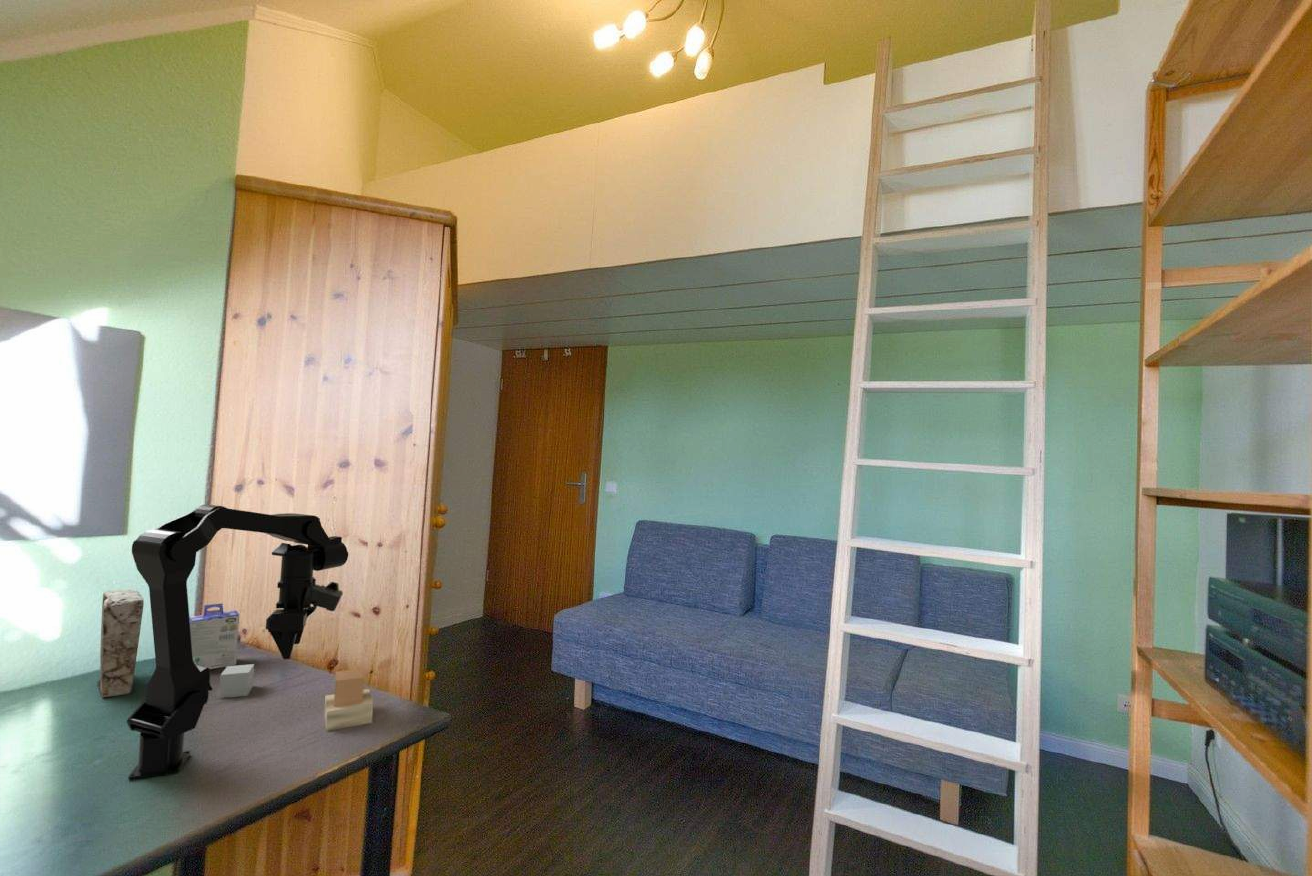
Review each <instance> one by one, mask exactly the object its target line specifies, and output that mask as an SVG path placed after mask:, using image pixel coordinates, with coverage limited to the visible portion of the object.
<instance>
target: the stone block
mask: <svg viewBox="0 0 1312 876" xmlns="http://www.w3.org/2000/svg"><path fill="white" fill-rule="evenodd" d="M101 603H102V604H101V605H102V607H101V621H100V622H101V625H100V626H101V627H100V630H101V631H100V653H99V657H100V660H99V662H100V663H99V667H100V669H99V671H100V672H99V673H100V675H99V676H100V677H99V680H98V681H97V683H96V684H97V686H98V689H99V693H100V694H101V697H102V698H108V697H114V696H115V697H116V696H121V695H123V696H124V695H129V694H131V693H133V689H132V688H133V683H134V677H135V676H134V675H135V671H136V669H135V668H136V664H137V657H138V651H139V649H138V648H139V641H140V634H141V629H142V628H141V627H142V620H143V619H142V618H143V611H144V605H145V604H144V598H143V596H142V594H140V591H139V590H138V589H122V590H121V589H120V590H117V589H116V590H106V591H104V592H103V594H102V602H101Z"/></svg>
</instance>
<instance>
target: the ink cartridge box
mask: <svg viewBox="0 0 1312 876" xmlns="http://www.w3.org/2000/svg"><path fill="white" fill-rule="evenodd" d="M223 605H224V604H223V603H213V604H205V605H204V608H203V614H201V615H194V616H189V618H190V630H191V642H192V654H193V661H194V663H195V665H198V666H203V667H207V668H209V670H214V669H220V668H221V669H222V668H226V667H227V666H237V660H238V659H237V658H238V656H237V655H238V643H239V624H240V614H239V613H238V610H229V611H224V608H223V607H224V606H223ZM212 608H219V609H214V610H208V609H212Z"/></svg>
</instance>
